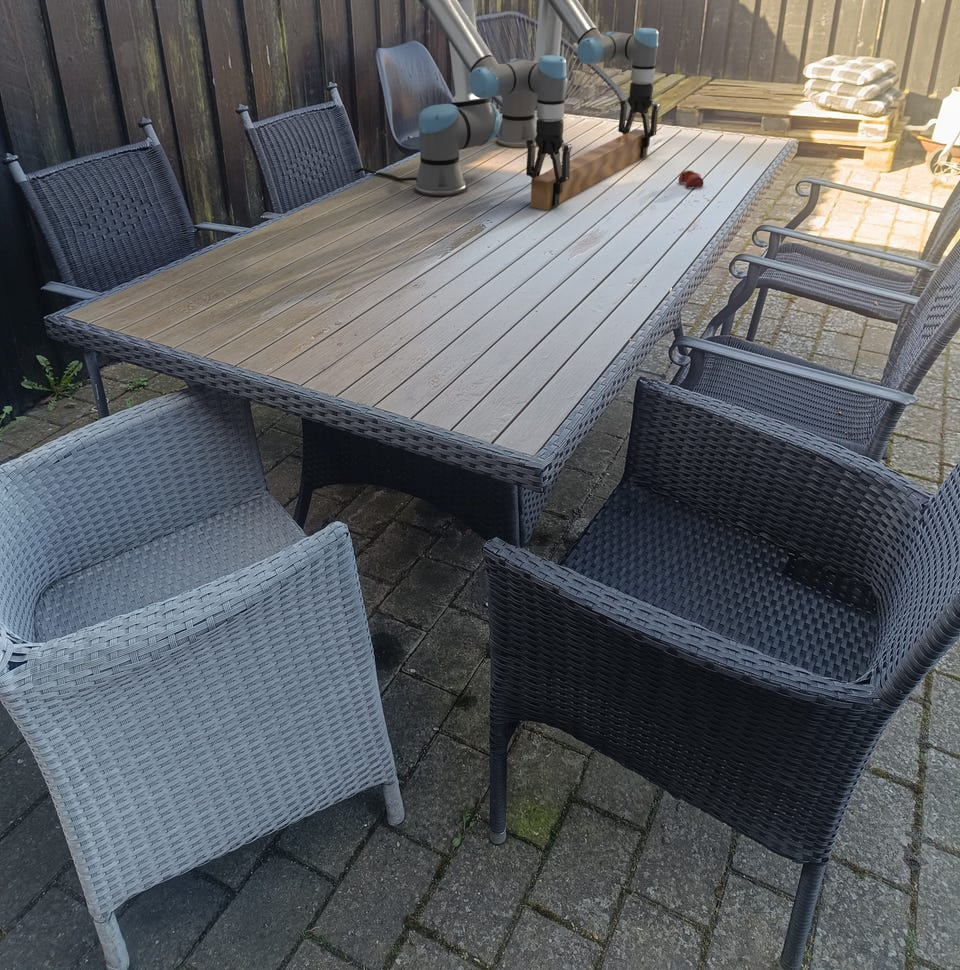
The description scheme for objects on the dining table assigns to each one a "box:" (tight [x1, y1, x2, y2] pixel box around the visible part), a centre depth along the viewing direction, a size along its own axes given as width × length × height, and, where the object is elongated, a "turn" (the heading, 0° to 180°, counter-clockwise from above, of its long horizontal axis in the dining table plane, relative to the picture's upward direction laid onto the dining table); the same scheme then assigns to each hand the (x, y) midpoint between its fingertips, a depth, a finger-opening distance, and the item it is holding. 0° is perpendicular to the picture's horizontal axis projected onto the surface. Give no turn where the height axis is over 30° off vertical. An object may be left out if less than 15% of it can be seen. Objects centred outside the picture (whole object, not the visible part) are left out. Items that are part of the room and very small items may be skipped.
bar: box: [530, 128, 649, 211], centre depth 265 cm, size 71×5×8 cm, turn 147°
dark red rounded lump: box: [678, 169, 704, 189], centre depth 261 cm, size 6×4×8 cm
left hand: (546, 203), depth 246 cm, fingers closed on bar, 5 cm apart
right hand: (634, 155), depth 289 cm, fingers closed on bar, 5 cm apart
